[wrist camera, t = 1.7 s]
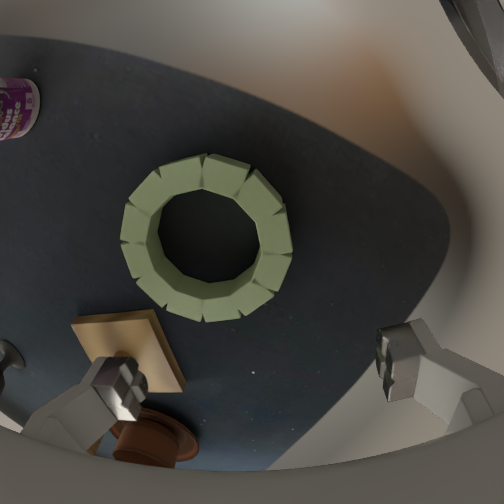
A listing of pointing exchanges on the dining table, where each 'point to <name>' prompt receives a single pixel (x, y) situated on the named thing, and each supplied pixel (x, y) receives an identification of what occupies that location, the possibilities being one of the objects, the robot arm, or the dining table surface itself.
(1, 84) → the pill bottle
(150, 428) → the cup and saucer
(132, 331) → the hanger post
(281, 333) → the dining table surface
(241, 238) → the dining table surface
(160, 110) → the dining table surface
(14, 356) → the sundae
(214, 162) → the ring
